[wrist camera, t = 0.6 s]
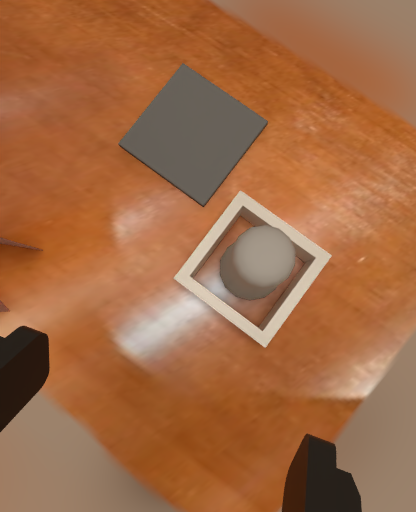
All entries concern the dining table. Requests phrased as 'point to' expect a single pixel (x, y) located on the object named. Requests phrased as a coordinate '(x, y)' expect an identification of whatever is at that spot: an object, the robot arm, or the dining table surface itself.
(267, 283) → the salt shaker
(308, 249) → the collar
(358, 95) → the dining table surface
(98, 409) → the dining table surface
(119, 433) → the dining table surface
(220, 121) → the mat
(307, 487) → the robot arm
